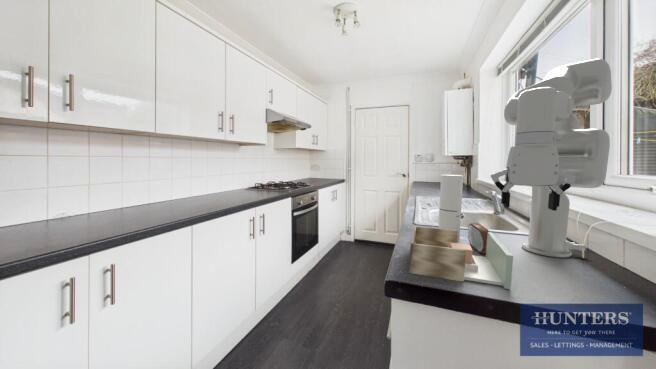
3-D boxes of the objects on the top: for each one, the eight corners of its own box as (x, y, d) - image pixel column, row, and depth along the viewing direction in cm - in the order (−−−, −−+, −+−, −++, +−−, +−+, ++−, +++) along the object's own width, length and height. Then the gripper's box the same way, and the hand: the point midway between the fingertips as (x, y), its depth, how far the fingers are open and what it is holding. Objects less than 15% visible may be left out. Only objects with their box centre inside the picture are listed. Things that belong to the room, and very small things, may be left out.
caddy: (456, 255, 81) (457, 230, 80) (463, 281, 63) (465, 250, 62) (413, 249, 86) (414, 226, 85) (409, 272, 68) (410, 243, 67)
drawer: (490, 258, 78) (492, 232, 77) (510, 289, 59) (513, 255, 58) (442, 252, 83) (443, 227, 82) (446, 279, 64) (448, 248, 63)
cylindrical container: (434, 240, 96) (437, 174, 94) (453, 240, 96) (457, 174, 94) (442, 246, 89) (446, 175, 87) (463, 246, 89) (467, 175, 87)
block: (468, 261, 73) (469, 244, 73) (471, 268, 68) (472, 250, 68) (449, 259, 75) (450, 242, 74) (450, 265, 70) (451, 247, 70)
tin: (492, 258, 79) (494, 231, 78) (481, 257, 80) (483, 230, 79) (474, 243, 94) (476, 220, 93) (465, 242, 94) (466, 220, 94)
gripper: (571, 140, 63) (564, 208, 65) (490, 142, 70) (486, 203, 72) (587, 138, 56) (580, 213, 58) (496, 140, 63) (491, 208, 65)
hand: (528, 208), depth 65 cm, fingers open, 9 cm apart
